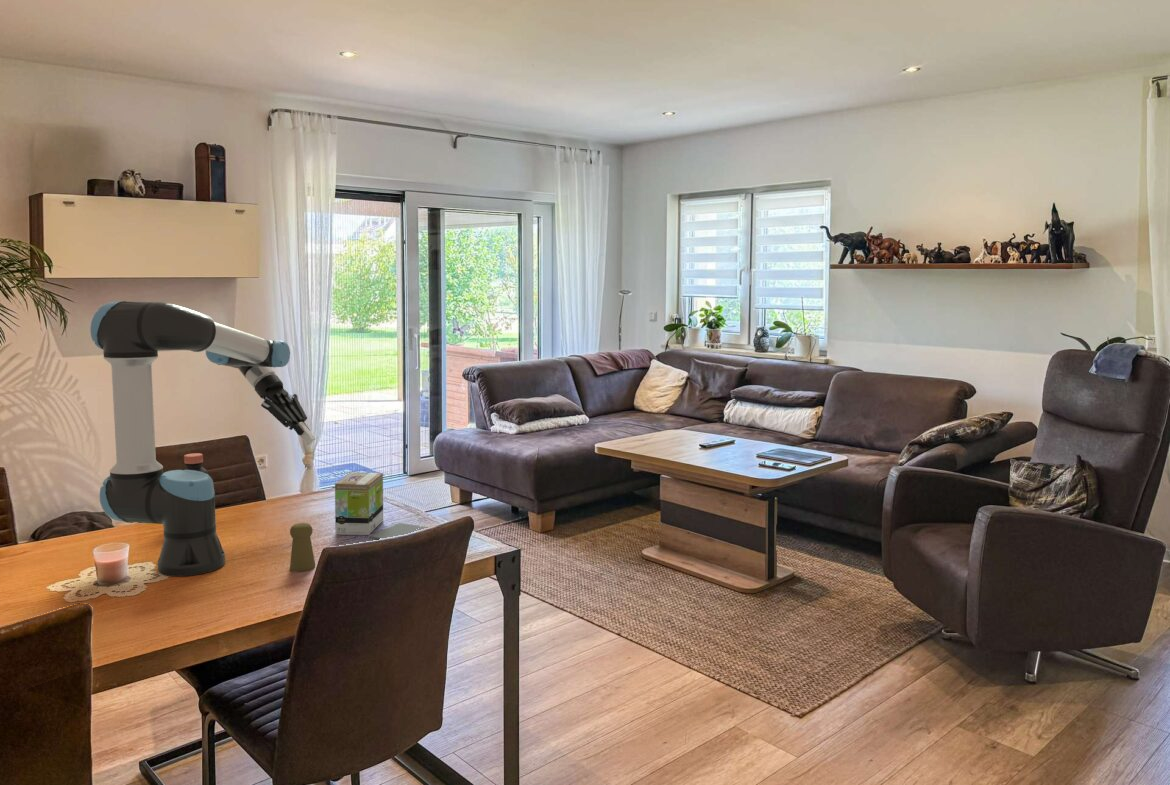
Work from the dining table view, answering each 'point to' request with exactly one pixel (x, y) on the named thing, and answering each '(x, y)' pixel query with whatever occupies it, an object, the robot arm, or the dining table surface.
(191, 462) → the bottle
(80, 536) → the dining table surface
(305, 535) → the olive green pawn
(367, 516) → the tea box
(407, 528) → the mat
